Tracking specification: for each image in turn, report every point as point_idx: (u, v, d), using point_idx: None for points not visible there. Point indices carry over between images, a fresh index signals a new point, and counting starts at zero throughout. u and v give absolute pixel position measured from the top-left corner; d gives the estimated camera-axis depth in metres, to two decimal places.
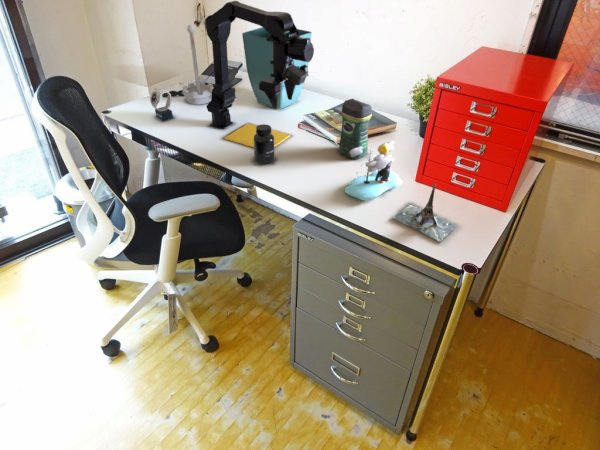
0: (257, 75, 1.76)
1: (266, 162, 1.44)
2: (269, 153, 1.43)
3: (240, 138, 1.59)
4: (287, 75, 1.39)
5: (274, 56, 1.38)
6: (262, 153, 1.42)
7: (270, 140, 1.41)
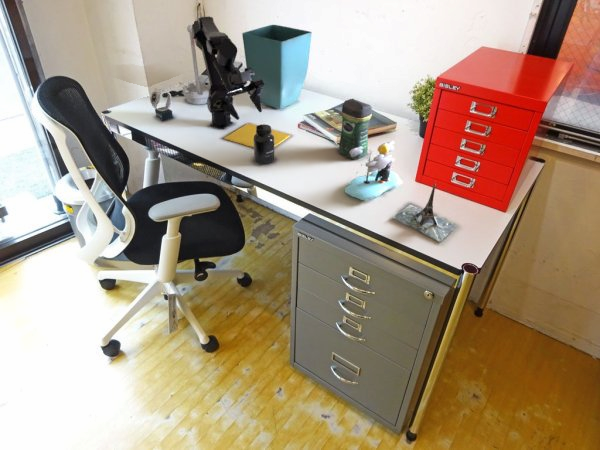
0: (257, 75, 1.76)
1: (266, 162, 1.44)
2: (269, 153, 1.43)
3: (240, 138, 1.59)
4: (231, 81, 1.39)
5: (219, 75, 1.44)
6: (262, 152, 1.42)
7: (270, 140, 1.41)
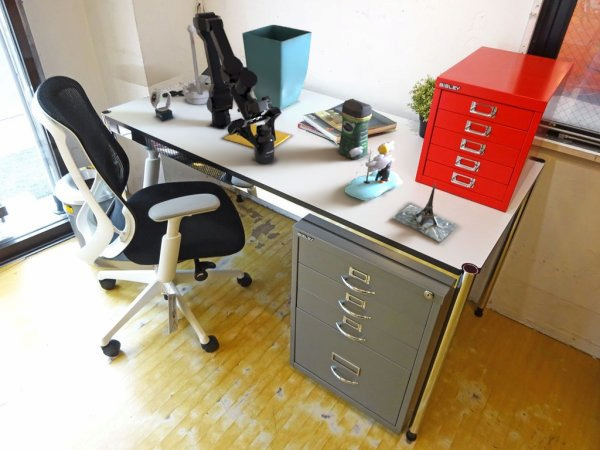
0: (257, 75, 1.76)
1: (266, 162, 1.44)
2: (269, 153, 1.43)
3: (240, 138, 1.59)
4: (248, 110, 1.38)
5: (236, 103, 1.42)
6: (262, 153, 1.42)
7: (270, 140, 1.41)
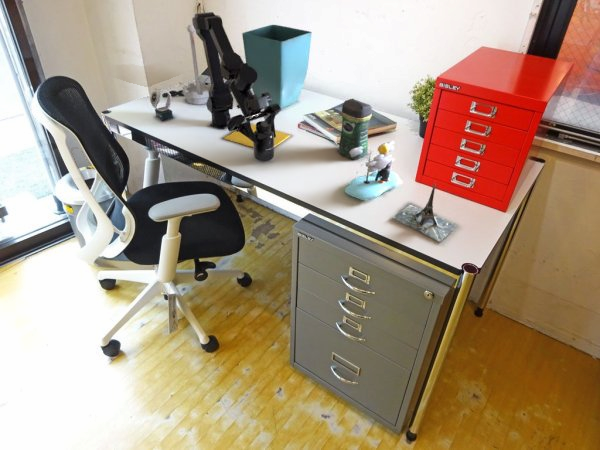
0: None
1: (266, 159, 1.44)
2: (268, 150, 1.42)
3: (240, 138, 1.59)
4: (248, 106, 1.37)
5: None
6: (262, 149, 1.41)
7: (270, 136, 1.40)
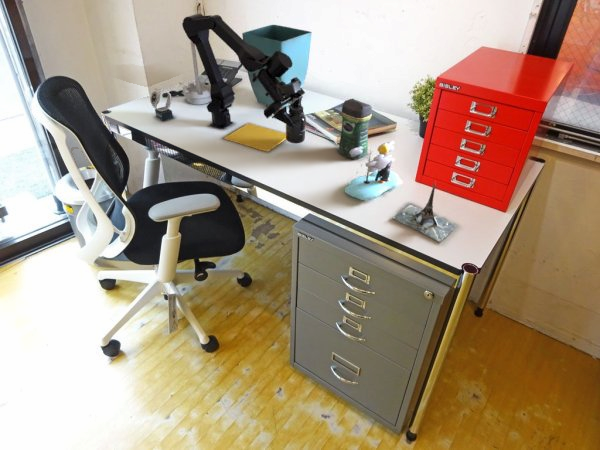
0: None
1: (300, 140, 1.53)
2: (303, 131, 1.52)
3: (240, 138, 1.59)
4: (282, 92, 1.45)
5: (265, 87, 1.48)
6: (298, 131, 1.51)
7: (304, 118, 1.50)
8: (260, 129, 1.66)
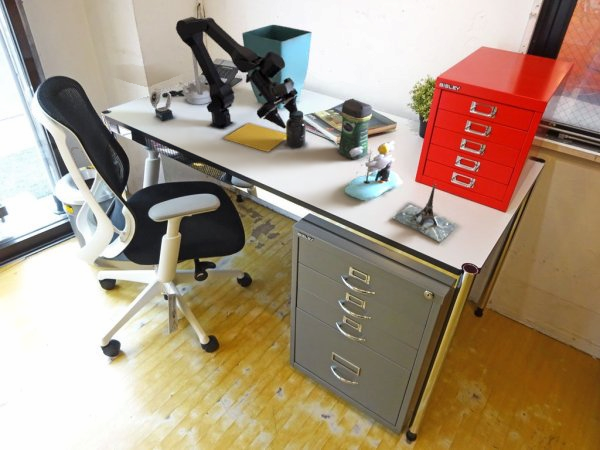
0: None
1: (300, 145, 1.54)
2: (303, 136, 1.53)
3: (240, 138, 1.59)
4: (275, 92, 1.47)
5: (258, 87, 1.49)
6: (298, 137, 1.52)
7: (304, 123, 1.51)
8: (260, 129, 1.66)
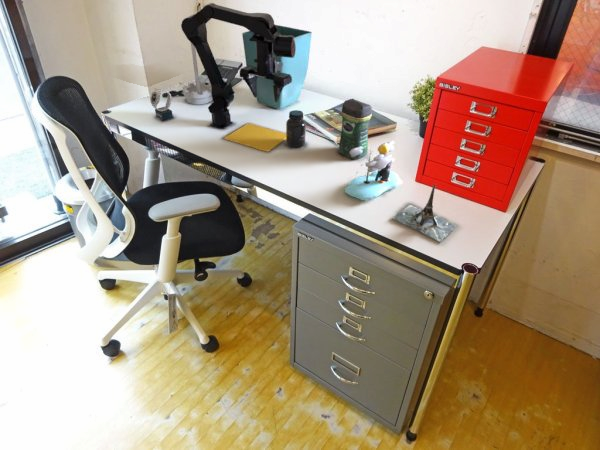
0: None
1: (300, 145, 1.54)
2: (303, 136, 1.53)
3: (240, 138, 1.59)
4: (277, 66, 1.54)
5: (259, 55, 1.47)
6: (298, 137, 1.52)
7: (304, 123, 1.51)
8: (260, 129, 1.66)
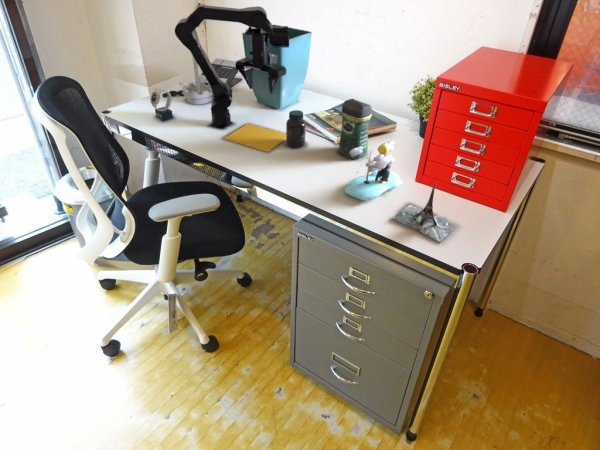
0: (257, 75, 1.76)
1: (300, 145, 1.54)
2: (303, 136, 1.53)
3: (240, 138, 1.59)
4: (272, 59, 1.57)
5: (256, 47, 1.51)
6: (298, 137, 1.52)
7: (304, 123, 1.51)
8: (260, 129, 1.66)
